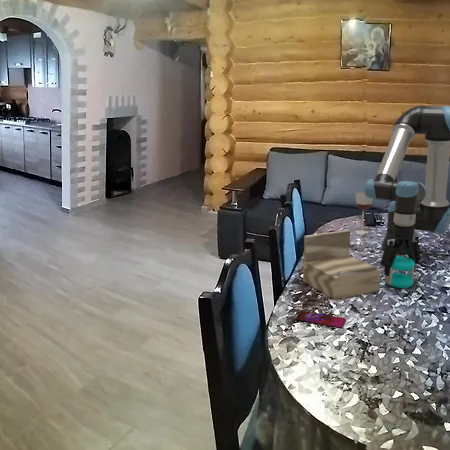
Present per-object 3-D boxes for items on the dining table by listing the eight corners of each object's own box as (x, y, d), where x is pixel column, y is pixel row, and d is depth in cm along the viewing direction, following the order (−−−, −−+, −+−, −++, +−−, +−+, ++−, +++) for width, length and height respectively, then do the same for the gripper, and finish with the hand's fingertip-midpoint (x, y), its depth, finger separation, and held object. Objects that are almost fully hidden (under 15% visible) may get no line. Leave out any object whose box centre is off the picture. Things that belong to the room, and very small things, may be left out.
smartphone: (342, 327, 160) (294, 319, 166) (341, 330, 161) (294, 321, 166) (346, 318, 167) (300, 310, 173) (346, 320, 167) (300, 312, 173)
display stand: (302, 281, 200) (304, 235, 196) (345, 273, 209) (348, 230, 204) (334, 299, 183) (336, 250, 178) (379, 290, 191) (383, 243, 186)
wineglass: (371, 234, 265) (374, 195, 260) (353, 233, 267) (356, 194, 262) (370, 230, 273) (372, 192, 268) (353, 229, 274) (355, 191, 269)
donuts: (415, 264, 189) (387, 262, 191) (413, 290, 191) (384, 287, 194) (414, 256, 198) (387, 254, 201) (412, 281, 200) (385, 278, 203)
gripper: (387, 229, 183) (382, 289, 189) (435, 223, 193) (429, 280, 198) (372, 224, 190) (368, 282, 196) (419, 218, 199) (414, 273, 205)
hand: (399, 281), depth 197 cm, fingers closed on donuts, 10 cm apart
